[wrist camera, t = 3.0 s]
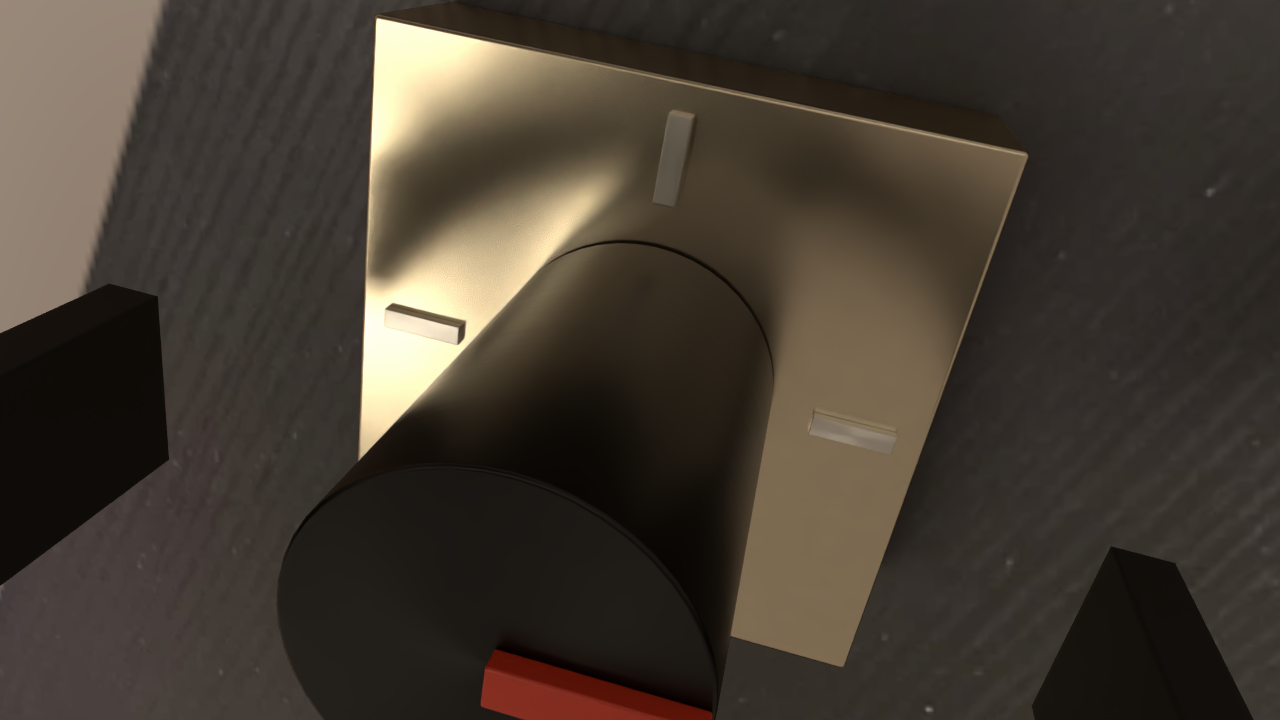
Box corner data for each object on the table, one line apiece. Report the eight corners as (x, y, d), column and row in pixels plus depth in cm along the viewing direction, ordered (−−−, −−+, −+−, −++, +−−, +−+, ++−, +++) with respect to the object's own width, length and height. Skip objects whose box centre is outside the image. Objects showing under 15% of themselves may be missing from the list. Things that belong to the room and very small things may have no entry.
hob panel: (416, 457, 21) (349, 536, 18) (448, 0, 17) (367, 13, 14) (845, 573, 20) (843, 676, 17) (1002, 115, 16) (1034, 155, 13)
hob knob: (486, 458, 17) (261, 778, 11) (513, 212, 15) (254, 425, 8) (739, 525, 17) (664, 907, 10) (804, 280, 14) (765, 564, 8)
